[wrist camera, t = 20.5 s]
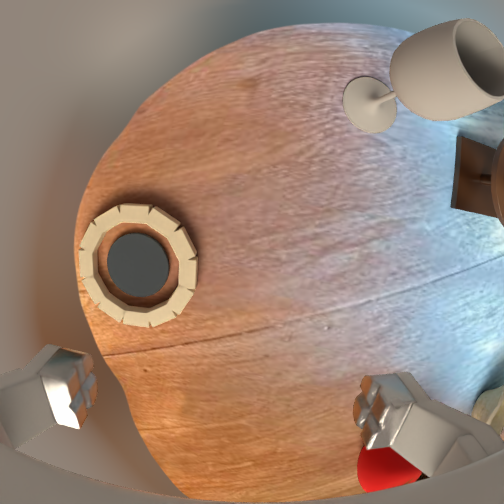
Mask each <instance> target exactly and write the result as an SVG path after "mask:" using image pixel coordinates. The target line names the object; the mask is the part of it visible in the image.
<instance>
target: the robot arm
mask: <svg viewBox="0 0 504 504" xmlns="http://www.w3.org/2000/svg"><path fill="white" fill-rule="evenodd" d="M93 367H94V364H93V358H92V356H91V355H90V354H87V353H83V352H79V351H75V350H71V349H67V348H63V347H59V346H55V345H51V344H49V345H46V346H45V347H44V348H43V349H42V350H41V351H40V352H39V353H38V354H37V355H36V356H35V357H34V358H33V359H32V360H31V361H30V362H29V363H28V365H26V367H25V368H24V369H23V370H22V369H16V370H13V371H10V372H7V373H4V374H1V375H0V504H504V441H503V440H502V439H501V438H500V436H499V435H498V434H497V433H496V431H495V430H494V429H493V428H492V427H491V426H490V425H488V424H486V423H484V422H482V421H479V420H477V419H475V418H473V417H471V416H468V415H466V414H464V413H462V412H460V411H458V410H456V409H453V408H451V407H449V406H447V405H445V404H443V403H441V402H439V401H437V400H431V399H430V398H429V397H428V395H427V394H426V393H425V391H424V390H423V389H422V388H421V386H420V385H419V384H418V382H417V381H416V380H415V378H414V377H413V376H412V375H411V373H409V372H399V373H393V374H383V375H367V376H365V377H364V378H363V379H362V382H361V385H360V387H361V389H362V392H361V393H360V394H359V395H358V396H357V397H356V399H355V402H354V405H353V417H354V421H355V423H356V425H357V426H358V427H360V428H361V429H363V430H362V432H361V437H362V440H363V442H364V444H365V447H366V449H367V450H368V449H377V448H384V447H391V446H392V447H391V448H392V449H393V450H395V451H396V452H397V453H398V454H400V455H401V456H402V457H404V458H405V459H406V460H407V461H409V462H410V463H411V464H413V465H414V466H415V467H416V468H418V469H419V470H420V471H422V472H423V473H424V474H426V475H427V476H428V477H430V478H427V479H424V480H420V481H417V482H413V483H409V484H405V485H401V486H397V487H393V488H388V489H384V490H379V491H374V492H369V493H363V494H357V495H351V496H345V497H337V498H329V499H320V500H309V501H295V502H267V503H253V502H225V501H211V500H200V499H190V498H182V497H175V496H168V495H162V494H156V493H150V492H145V491H140V490H135V489H131V488H126V487H122V486H118V485H114V484H110V483H106V482H103V481H99V480H95V479H92V478H89V477H85V476H82V475H79V474H76V473H73V472H70V471H67V470H64V469H61V468H59V467H56V466H53V465H51V464H48V463H45V462H43V461H40V460H38V459H36V458H33V457H30V456H29V455H26V454H24V453H22V452H20V451H17V450H15V449H16V448H17V447H19V446H21V445H23V444H24V443H26V442H28V441H29V440H31V439H32V438H34V437H36V436H38V435H39V434H41V433H42V432H44V431H45V430H47V429H49V428H50V427H52V426H54V425H55V424H56V423H59V424H63V425H66V426H69V427H73V428H77V429H81V427H82V425H83V423H84V421H85V419H86V418H87V416H88V415H87V411H86V409H88V408H90V407H92V406H93V405H94V403H95V401H96V397H97V392H98V384H97V378H96V377H95V375H94V374H93V373H92V372H91V370H92V369H93Z"/></svg>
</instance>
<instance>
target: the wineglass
mask: <svg viewBox="0 0 504 504" xmlns="http://www.w3.org/2000/svg"><path fill="white" fill-rule="evenodd" d="M389 74H390V81H391V84H392V87H393V91H390V90H389V89H388V88H387V86H386V85H384V84H383V83H382V82H380V81H378V80H376V79H374V78H369V77H361V78H357V79H355V80H353V81H352V82H350V83H349V84H348V86H347V87H346V88H345V91H344V93H343V100H342V101H343V108H344V111H345V114H346V115H347V117H348V119H349V120H350V121H351V122H352V124H353V125H354V126H356V127H357V128H359V129H360V130H362V131H365V132H368V133H380V132H383V131H385V130H387V129H388V128H389V127H391V125H392V124H393V122H394V120H395V118H396V112H397V107H396V102H395V99H394V98H395V97H398V99H399V100H400V101H401V102H402V103H403V105H404V106H405V107H406V108H408V109H409V110H410V111H411V112H413V113H415V114H417V115H418V116H420V117H423V118H425V119H428V120H432V121H450V120H456V119H459V118H462V117H464V116H467V115H470V114H472V113H475V112H478V111H480V110H483V109H485V108H487V107H489V106H492V105H494V104H496V103H498V102H500V101H501V100H503V99H504V47H503V45H502V44H501V43H500V41H499V40H498V38H497V37H496V36H495V35H494V34H493V33H492V31H491V30H490V29H488V28H487V27H486V26H485V25H483V24H482V23H480V22H478V21H476V20H473V19H469V18H466V19H458V20H453V21H448V22H445V23H441V24H438V25H435V26H432V27H430V28H427V29H425V30H422V31H420V32H418V33H416V34H414V35H412V36H411V37H409V38H407V39H406V40H405V41H403V42H402V43H401V44H400V45H399V47H398V48H397V49H396V50H395V52H394V53H393V56H392V59H391V63H390V72H389Z"/></svg>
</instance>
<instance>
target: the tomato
mask: <svg viewBox="0 0 504 504" xmlns="http://www.w3.org/2000/svg"><path fill="white" fill-rule="evenodd" d="M391 447H392V446H391ZM391 447H384V448H377V449H368V450H367V449H366V447H365V446H364V447H363V448H362V450H361V452H360V455H359V458H358V464H357V473H358V479H359V482H360V484H361V486H362V488H363V489H364V490H365V491H366V492H367V493H369V492H374V491H379V490H384V489H388V488H393V487H397V486H401V485H405V484H409V483H413V482H415V481H416V480H417V479H418V478H419V476H420V475H421V474H422V471H420V470H419V469H418V468H416V467H415V466H414V465H413V464H411V463H410V462H409V461H407V460H406V459H405V458H404V457H402V456H401V455H400V454H398V453H397V452H396V451H395V450H393V449H392V448H391Z"/></svg>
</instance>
